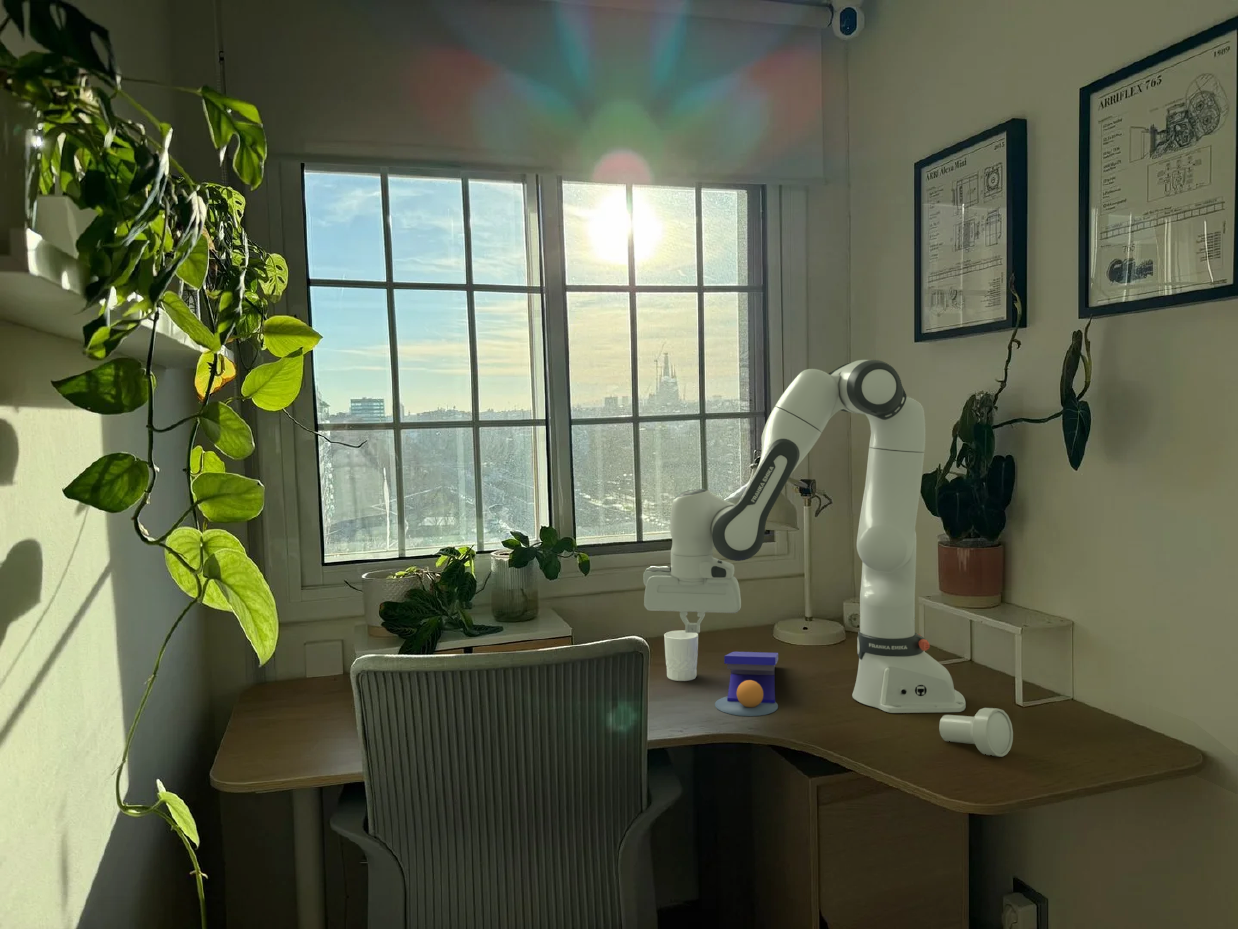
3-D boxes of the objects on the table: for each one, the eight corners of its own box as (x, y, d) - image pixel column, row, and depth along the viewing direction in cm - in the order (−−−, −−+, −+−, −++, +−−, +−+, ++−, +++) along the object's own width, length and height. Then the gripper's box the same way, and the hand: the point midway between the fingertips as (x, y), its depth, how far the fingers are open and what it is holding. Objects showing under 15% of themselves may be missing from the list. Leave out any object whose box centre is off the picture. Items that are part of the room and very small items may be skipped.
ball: (753, 671, 182) (734, 687, 184) (747, 678, 177) (728, 695, 179) (771, 692, 181) (752, 708, 183) (766, 700, 176) (746, 716, 178)
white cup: (698, 672, 205) (698, 630, 205) (698, 682, 198) (698, 639, 197) (665, 672, 206) (664, 630, 206) (663, 682, 198) (663, 638, 198)
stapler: (724, 704, 184) (723, 658, 183) (730, 666, 211) (729, 626, 211) (779, 706, 182) (779, 659, 181) (778, 668, 209) (777, 627, 209)
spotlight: (990, 758, 148) (987, 709, 150) (933, 751, 157) (931, 705, 159) (1017, 756, 153) (1014, 708, 155) (960, 750, 162) (957, 705, 164)
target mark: (778, 697, 186) (778, 696, 186) (777, 718, 173) (777, 717, 173) (718, 694, 189) (718, 693, 189) (711, 714, 176) (711, 713, 176)
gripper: (640, 568, 181) (641, 634, 182) (739, 570, 177) (739, 637, 177) (645, 563, 187) (646, 627, 188) (741, 565, 183) (741, 630, 183)
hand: (692, 632), depth 182 cm, fingers closed
